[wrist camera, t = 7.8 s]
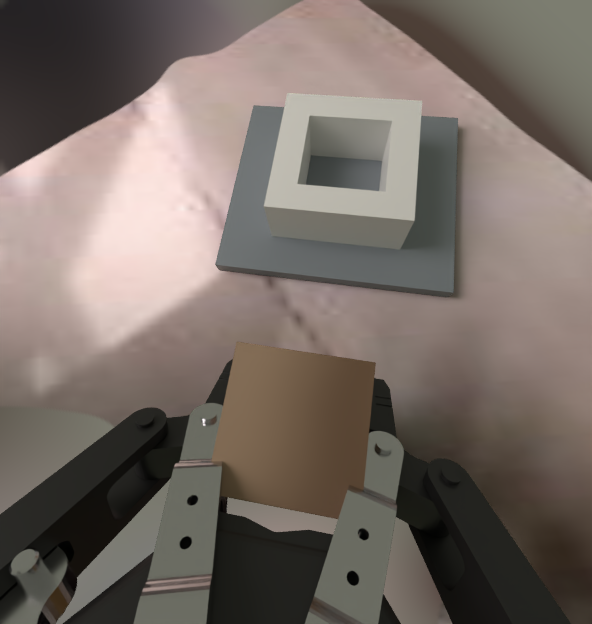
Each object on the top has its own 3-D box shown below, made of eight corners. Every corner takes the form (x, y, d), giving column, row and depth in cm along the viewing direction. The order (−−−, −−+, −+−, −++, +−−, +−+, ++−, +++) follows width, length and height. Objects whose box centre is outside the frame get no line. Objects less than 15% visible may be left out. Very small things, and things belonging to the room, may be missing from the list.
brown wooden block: (262, 448, 18) (204, 492, 9) (275, 375, 19) (236, 341, 10) (335, 461, 18) (360, 523, 8) (344, 386, 19) (375, 362, 9)
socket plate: (219, 269, 27) (197, 239, 22) (255, 114, 31) (244, 61, 26) (448, 297, 25) (479, 270, 20) (453, 127, 29) (479, 72, 25)
